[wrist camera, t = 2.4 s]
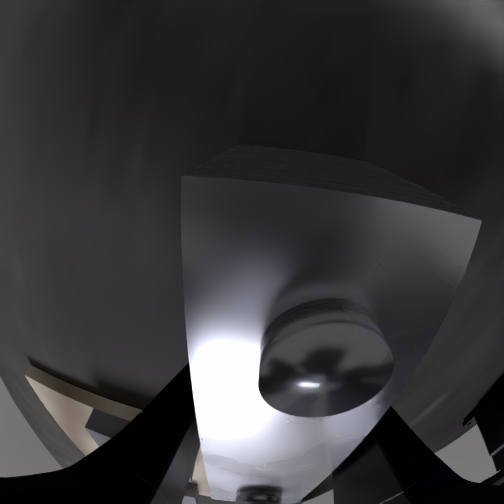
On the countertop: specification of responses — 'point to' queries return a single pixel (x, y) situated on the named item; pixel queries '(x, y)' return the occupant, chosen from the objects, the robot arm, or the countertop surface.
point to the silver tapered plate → (306, 308)
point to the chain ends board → (80, 412)
